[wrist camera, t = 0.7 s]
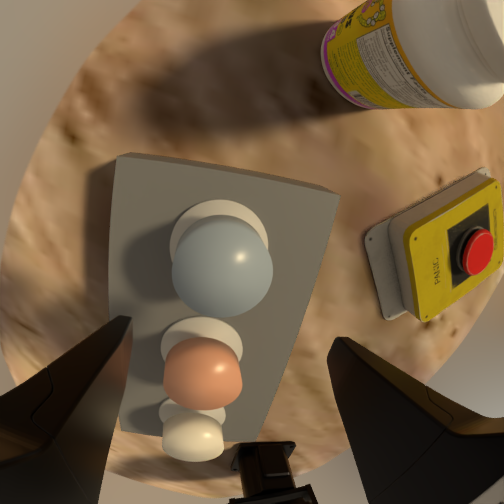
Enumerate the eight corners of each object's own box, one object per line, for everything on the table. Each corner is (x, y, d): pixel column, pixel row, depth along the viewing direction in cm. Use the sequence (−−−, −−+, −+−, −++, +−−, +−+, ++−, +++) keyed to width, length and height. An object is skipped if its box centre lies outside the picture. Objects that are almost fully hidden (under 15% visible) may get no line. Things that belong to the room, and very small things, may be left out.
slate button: (254, 302, 16) (260, 322, 14) (170, 292, 15) (167, 311, 13) (274, 222, 14) (283, 234, 13) (181, 207, 14) (178, 218, 12)
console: (250, 417, 26) (256, 444, 23) (125, 406, 24) (120, 433, 21) (321, 185, 19) (342, 196, 16) (130, 152, 16) (115, 156, 13)
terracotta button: (232, 391, 18) (234, 412, 17) (164, 385, 17) (162, 406, 16) (245, 341, 17) (249, 361, 15) (167, 332, 16) (164, 353, 14)
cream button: (217, 445, 21) (219, 463, 19) (163, 441, 20) (162, 459, 18) (225, 414, 19) (228, 434, 18) (163, 409, 18) (162, 429, 17)
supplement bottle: (374, 11, 15) (512, -46, 3) (416, 91, 17) (570, 94, 5) (296, 36, 15) (425, -62, 3) (346, 125, 18) (517, 142, 6)
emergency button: (519, 263, 20) (406, 350, 21) (491, 247, 24) (381, 320, 25) (519, 172, 17) (389, 253, 17) (483, 162, 21) (357, 230, 21)
